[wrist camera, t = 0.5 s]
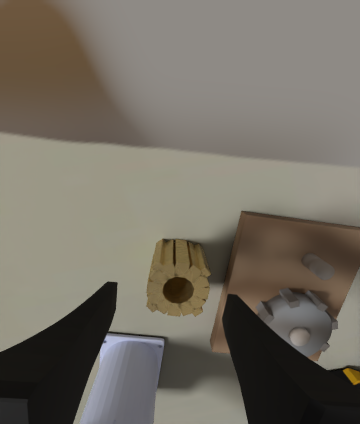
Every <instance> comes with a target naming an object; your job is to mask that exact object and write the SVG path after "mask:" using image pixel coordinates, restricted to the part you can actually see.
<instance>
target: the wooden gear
mask: <svg viewBox="0 0 360 424" xmlns="http://www.w3.org/2000/svg"><path fill="white" fill-rule="evenodd" d="M210 275H211V272H210V269H209V266H208V263H207V260H206V257H205V254H204V251H203V248H202V247H201V246H200V245H199V243H198V244H196V245H195V246H194V245H193V244H192V243H190V242H189V241H188V242H186V240H180V239H176V240H175V243H174V240H173V239H172V240H170V241H167V242H165V241H164V239H162V240H160V241H159V242H157V243H156V248H155V252H154V255H153V260H152V264H151V269H150V274H149V278H148V284H147V297H148V301H147V307H148V308H149V309H150V310H151V311H152V312H154V311H156V310H159V311H160V312H162V313H163V314H165V313H166V312H167V311H168V315H170V316H180V315H181V313H182V315H183V316H185V315H188V314H191V313H192V314H193V315H194V316H197V315H199V314H200V313H202V312H203V309H202V305H203V304H204V303H205V302H206V300H205V299H208V294H209V290H210V287H209V286H210V285H209V282H208V278H207V277H208V276H210Z"/></svg>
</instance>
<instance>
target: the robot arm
mask: <svg viewBox="0 0 360 424" xmlns="http://www.w3.org/2000/svg"><path fill="white" fill-rule="evenodd" d="M116 298H117V282H107V283H105V284H104V285H103V286H102V287H101V288H100V289H99V290H98V291H96V292H95V293H94V294H93V295H92V296H91V297H90V298H88V299H87V300H86V301H85V302H84V303H82V304H81V305H80V306H79V307H77V308H76V309H75V310H73V311H72V312H71V313H69V314H68V315H67V316H65V317H64V318H62V319H61V320H59V321H58V322H56V323H55V324H53V325H51V326H50V327H48V328H46V329H45V330H43V331H41V332H39V333H38V334H36V335H34V336H32V337H30V338H29V339H27V340H25V341H23V342H21V343H19V344H17V345H15V346H13V347H11V348H8V349H6V350H4V351H2V352H0V424H73V422H74V419H75V416H76V413H77V410H78V407H79V404H80V401H81V398H82V395H83V392H84V389H85V386H86V383H87V381H88V378H89V375H90V372H91V370H92V367H93V365H94V362H95V360H96V358H97V356H98V353H99V351H100V367H99V370H98V373H97V376H96V378H95V381H94V384H93V387H92V390H91V392H90V395H89V398H88V401H87V403H86V406H85V409H84V412H83V415H82V417H81V420H80V423H79V424H153V422H154V410H155V397H156V391H157V386H158V380H159V374H160V367H161V361H162V355H163V349H164V342H165V341H164V339H163V338H155V337H144V336H133V335H122V334H111V333H108V331H109V328H110V326H111V323H112V320H113V317H114V313H115V310H116ZM222 323H223V329H224V334H225V338H226V341H227V344H228V347H229V351H230V354H231V357H232V360H233V363H234V366H235V370H236V373H237V376H238V380H239V383H240V387H241V392H242V396H243V401H244V405H245V410H246V415H247V420H248V424H360V389H358V388H357V387H355V386H353V385H351V384H349V383H348V382H346V381H344V380H342V379H341V378H339V377H337V376H335V375H334V374H332V373H330V372H329V371H327V370H326V369H324V368H322V367H321V366H319V365H318V364H316V363H315V362H313V361H312V360H310V359H309V358H308V357H306V356H305V355H303V354H302V353H301V352H299V351H298V350H296V349H295V348H294V347H292V346H291V345H290V344H289V343H287V342H286V341H285V340H284V339H282V338H281V337H280V336H279V335H278V334H277V333H275V332H274V331H273V330H272V329H271V328H270V327H269V326H268V325H267V324H266V323H265V322H264V321H262V320H261V319H260V318H259V317H258V316H257V315H256V314H255V313H254V312H253V311H252V309H251V308H250V307H249V306H248V305H247V304H246V303H245V302H244V301H243V300H242V299H241V298H240V297H239V296H238V295H236V294H228V295H227V299H226V304H225V308H224V312H223V316H222ZM105 340H106V341H105Z"/></svg>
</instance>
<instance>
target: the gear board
mask: <svg viewBox="0 0 360 424" xmlns="http://www.w3.org/2000/svg"><path fill="white" fill-rule="evenodd" d="M359 267H360V228H359V227H352V226H345V225H338V224H331V223H323V222H316V221H309V220H302V219H295V218H288V217H281V216H274V215H266V214H259V213H252V212H245V211H241V215H240V219H239V223H238V228H237V232H236V236H235V240H234V244H233V248H232V252H231V257H230V261H229V265H228V269H227V273H226V277H225V281H224V285H223V290H222V294H221V298H220V302H219V306H218V310H217V314H216V318H215V323H214V327H213V331H212V335H211V339H210V343H211V348H212V352H220V353H230V351H229V347H228V344H227V341H226V338H225V334H224V329H223V323H222V316H223V312H224V308H225V304H226V299H227V295H228V294H236V295H238V296H239V297H240V298H241V299H242V300H243V301H244V302H245V303H246V304H247V305H248V306H249V307H250V308H251V309H252V311H253V312H254V313H255V314H256V315H257V316H258V317H259V318H260V319H261V320H262V321H264V322H265V323H266V324H267V325H268V326H269V327H270V328H271V329H272V330H273V331H274V332H275V333H277V334H278V335H279V336H280V337H281V338H282V339H284V340H285V341H286V342H287V343H289V344H290V345H291V346H292V347H294V348H295V349H296V350H298V351H299V352H301V353H302V354H303V355H305V356H306V357H308V358H309V359H310V360H312V361H318V359H319V357H320V354H321V352H322V351H323V352H324V351H325V350H326V349H327V348H328V347H329V346H330V345H329V344H328V343H327V342H328V340H329V338H330V336H331V333H332V330H334V329H338V321H337V320H336V318H337V316H338V314H339V312H340V309H341V307H342V305H343V303H344V300H345V298H346V296H347V294H348V291H349V289H350V287H351V285H352V282H353V280H354V278H355V276H356V273H357V271H358V269H359Z"/></svg>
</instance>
